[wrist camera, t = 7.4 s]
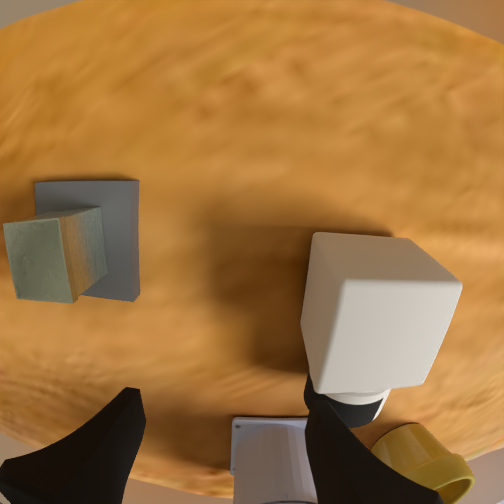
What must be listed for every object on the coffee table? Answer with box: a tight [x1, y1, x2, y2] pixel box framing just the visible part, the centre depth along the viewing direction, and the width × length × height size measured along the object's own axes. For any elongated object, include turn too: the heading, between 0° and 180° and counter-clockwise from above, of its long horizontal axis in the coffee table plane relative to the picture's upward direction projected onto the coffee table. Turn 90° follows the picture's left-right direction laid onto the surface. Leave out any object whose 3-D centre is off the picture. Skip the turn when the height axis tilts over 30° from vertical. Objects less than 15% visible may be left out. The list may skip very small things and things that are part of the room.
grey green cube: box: [3, 207, 108, 303], centre depth 16 cm, size 5×5×5 cm
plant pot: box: [371, 423, 475, 504], centre depth 22 cm, size 10×10×10 cm
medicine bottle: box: [300, 232, 462, 428], centre depth 18 cm, size 7×7×12 cm
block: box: [35, 180, 140, 302], centre depth 20 cm, size 8×8×2 cm
